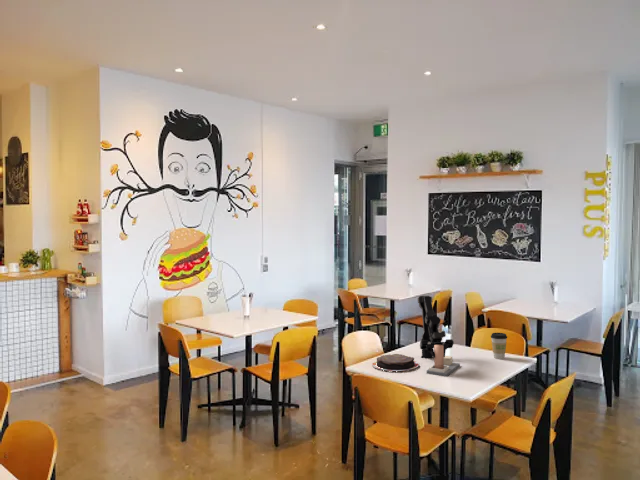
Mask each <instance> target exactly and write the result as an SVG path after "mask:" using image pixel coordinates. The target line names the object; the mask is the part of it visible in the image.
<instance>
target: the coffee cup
mask: <svg viewBox="0 0 640 480" xmlns="http://www.w3.org/2000/svg"><path fill="white" fill-rule="evenodd" d="M490 338H491V346H492V347H491V348H492V353H493V358H494V360H495V359H496V360H505V356H506V350H507V339H508V336H507V333H505V332H491V335H490Z"/></svg>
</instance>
